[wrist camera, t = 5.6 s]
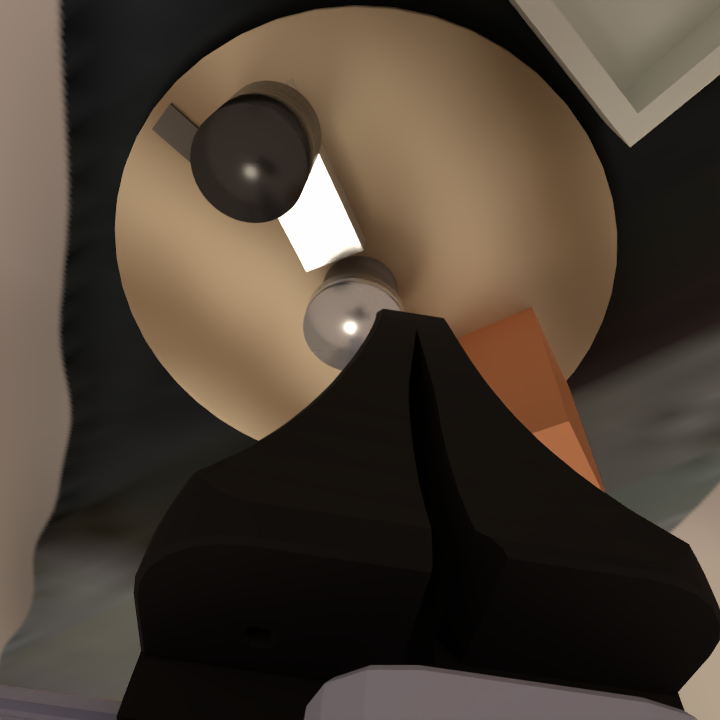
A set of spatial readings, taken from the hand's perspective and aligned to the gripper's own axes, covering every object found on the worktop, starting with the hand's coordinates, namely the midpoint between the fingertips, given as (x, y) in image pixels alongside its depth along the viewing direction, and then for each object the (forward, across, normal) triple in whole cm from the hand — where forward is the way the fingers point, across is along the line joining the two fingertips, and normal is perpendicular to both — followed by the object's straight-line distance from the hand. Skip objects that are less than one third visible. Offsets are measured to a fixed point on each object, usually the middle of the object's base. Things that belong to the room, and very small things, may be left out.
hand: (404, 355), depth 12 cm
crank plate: (+9, +1, +3) cm, 10 cm away
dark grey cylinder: (+8, +1, +3) cm, 9 cm away
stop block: (+8, -4, +6) cm, 11 cm away
